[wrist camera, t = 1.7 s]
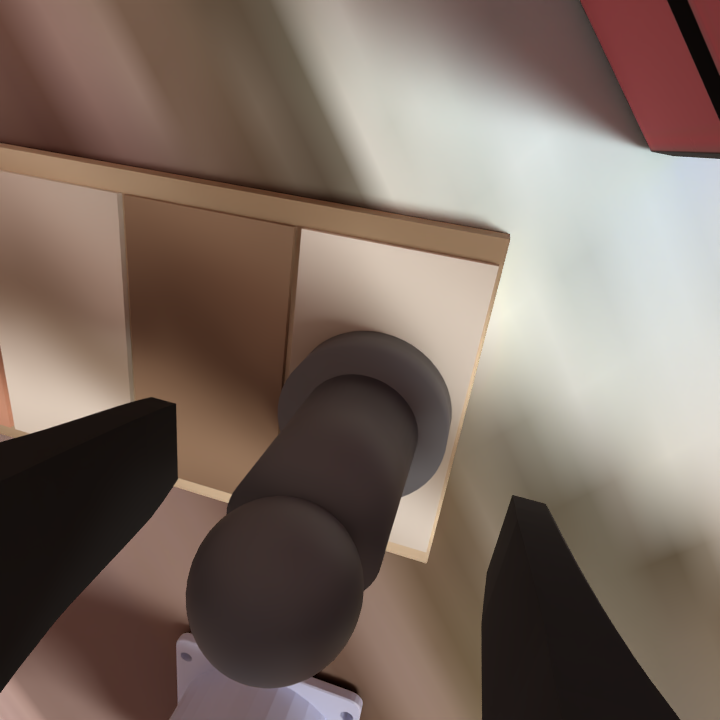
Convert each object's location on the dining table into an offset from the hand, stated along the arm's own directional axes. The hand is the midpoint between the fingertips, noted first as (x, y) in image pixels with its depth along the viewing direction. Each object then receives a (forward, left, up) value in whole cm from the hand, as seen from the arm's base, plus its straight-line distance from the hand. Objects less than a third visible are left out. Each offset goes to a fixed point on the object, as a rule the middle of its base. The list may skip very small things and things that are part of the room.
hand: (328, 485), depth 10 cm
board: (0, +10, -5) cm, 11 cm away
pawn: (0, 0, -4) cm, 4 cm away
